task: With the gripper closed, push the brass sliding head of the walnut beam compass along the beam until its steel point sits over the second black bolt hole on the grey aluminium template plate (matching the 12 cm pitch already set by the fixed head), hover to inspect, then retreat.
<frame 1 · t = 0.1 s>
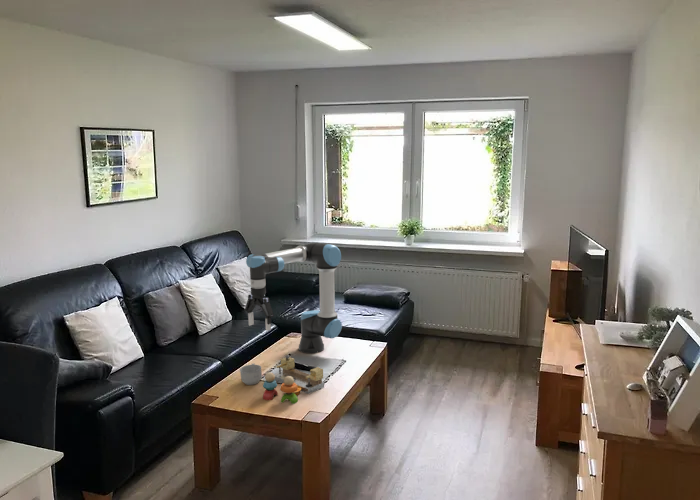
hand: (259, 327, 290), 28 cm above the table, fingers open, 13 cm apart
teacup: (252, 381, 292), on the table
sliding head: (284, 364, 295), point 7 cm above the table, slide at 0.0 cm
stacking toy figures: (282, 396, 273), on the table
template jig: (297, 383, 288), on the table
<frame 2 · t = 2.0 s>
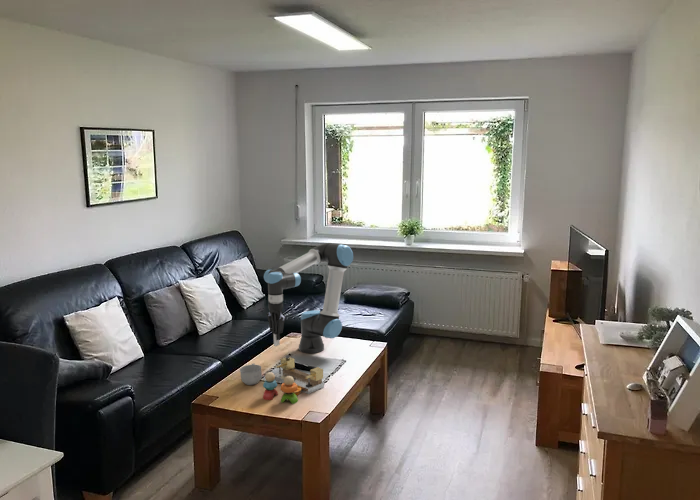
hand: (276, 345, 300), 15 cm above the table, fingers closed
nothing on the table moved.
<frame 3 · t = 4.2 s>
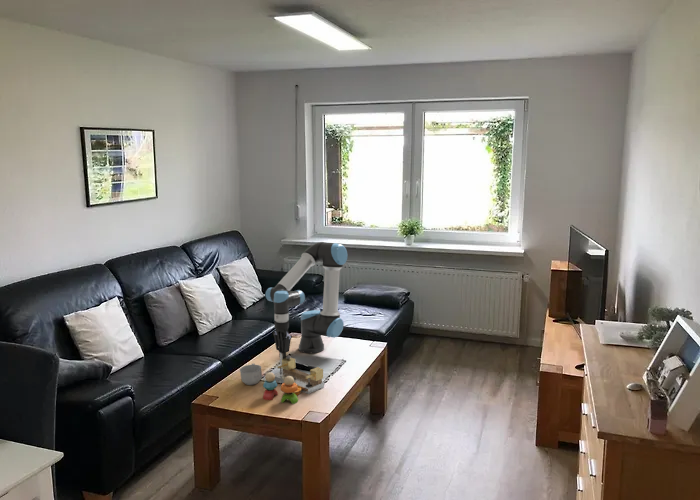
hand: (283, 363, 299), 6 cm above the table, fingers closed
sliding head: (285, 365, 294), point 7 cm above the table, slide at 0.7 cm, touching gripper
everything else where it was.
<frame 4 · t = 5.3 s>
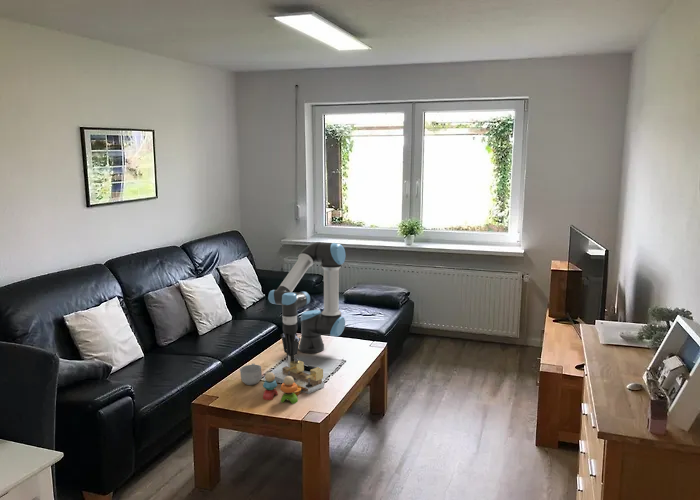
hand: (291, 366, 295), 6 cm above the table, fingers closed
sliding head: (293, 368, 290), point 7 cm above the table, slide at 7.0 cm, touching gripper
everything else where it was.
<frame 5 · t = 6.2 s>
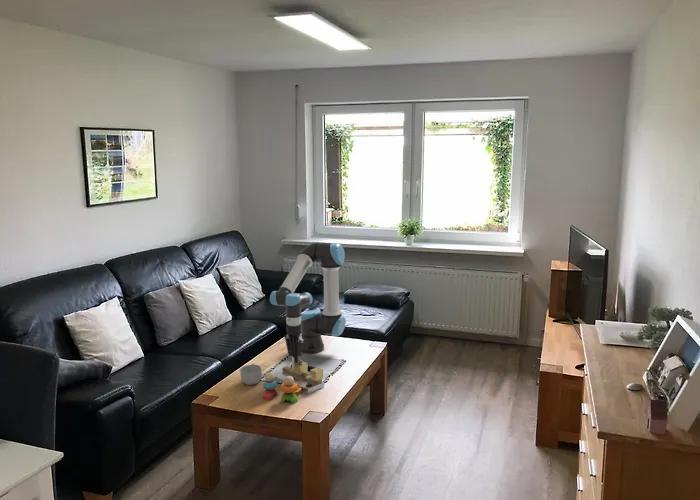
hand: (294, 368, 293), 6 cm above the table, fingers closed
sliding head: (297, 369, 288), point 7 cm above the table, slide at 9.8 cm, touching gripper
everything else where it was.
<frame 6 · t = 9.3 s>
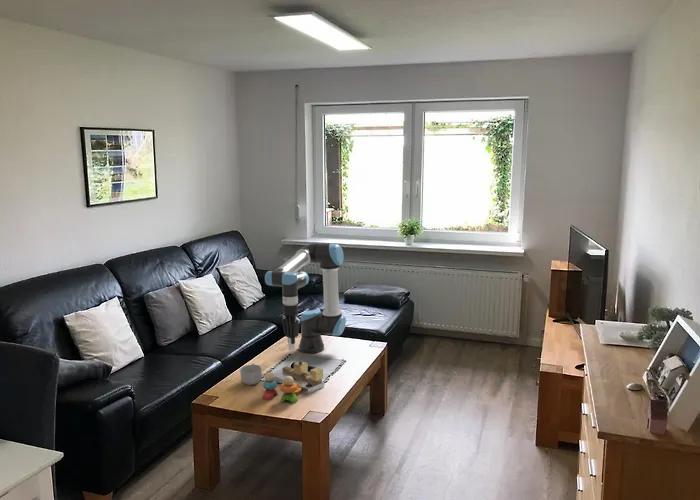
hand: (291, 349, 284), 18 cm above the table, fingers closed
sliding head: (297, 369, 288), point 7 cm above the table, slide at 9.9 cm
stacking toy figures: (282, 396, 274), on the table, touching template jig
everything else where it was.
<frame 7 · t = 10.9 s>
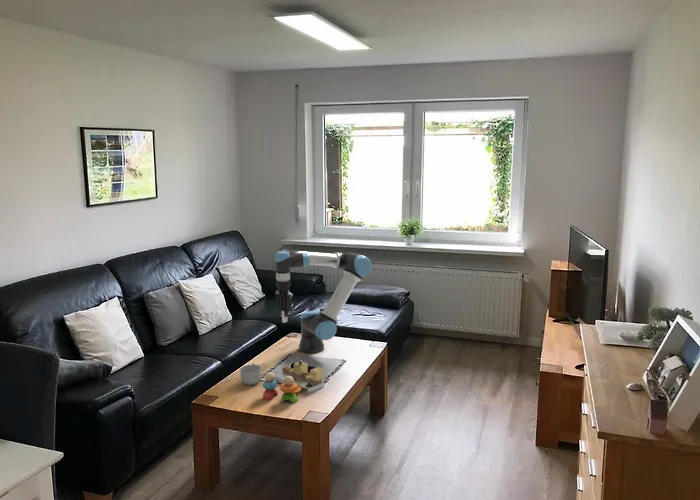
hand: (284, 321, 312), 24 cm above the table, fingers closed
stacking toy figures: (282, 396, 274), on the table
everything else where it was.
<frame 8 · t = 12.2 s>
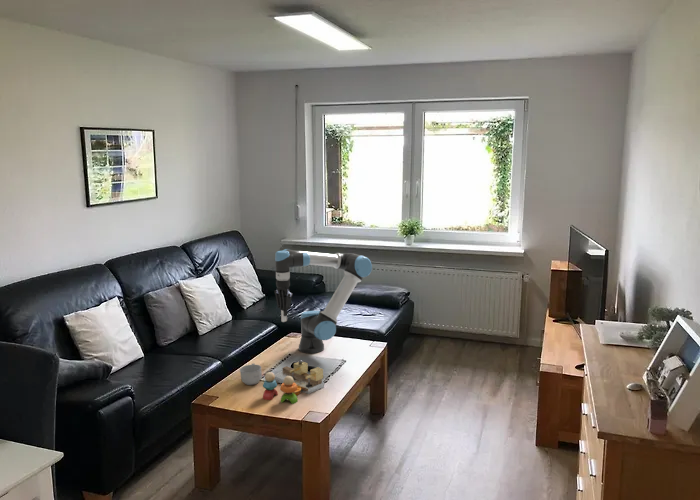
hand: (284, 321, 312), 24 cm above the table, fingers closed
nothing on the table moved.
at the end: sliding head slide at 9.9 cm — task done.
